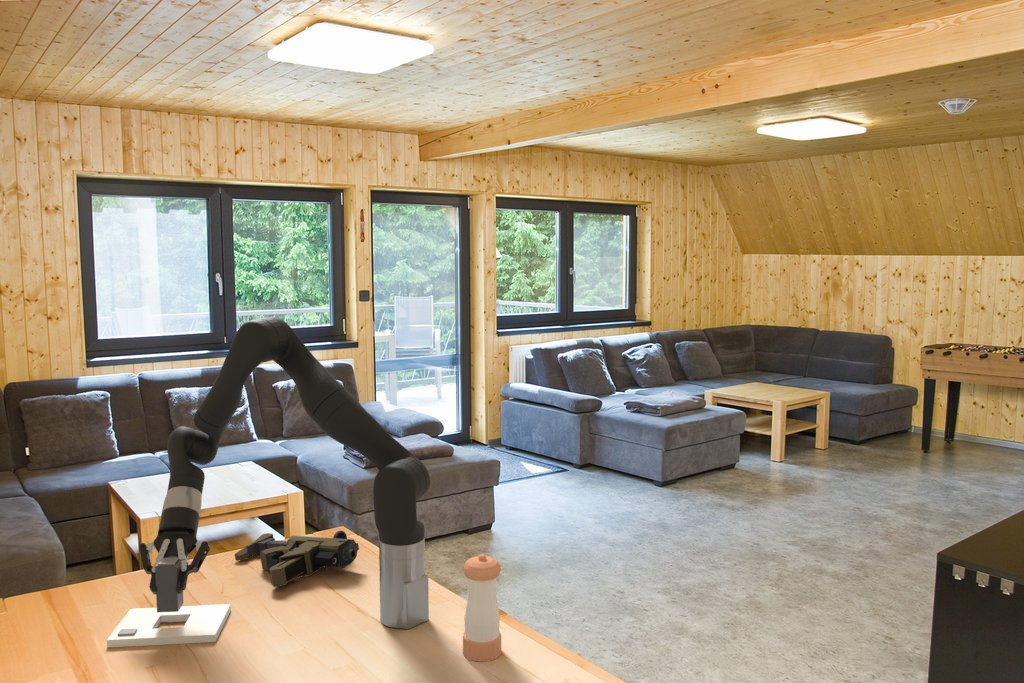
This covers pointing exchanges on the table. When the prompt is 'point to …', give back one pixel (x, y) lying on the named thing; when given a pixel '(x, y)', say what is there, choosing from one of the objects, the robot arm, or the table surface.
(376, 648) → the table surface
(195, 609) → the plate
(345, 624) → the table surface
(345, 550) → the futuristic firearm
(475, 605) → the pepper shaker
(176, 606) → the grey rectangular peg
